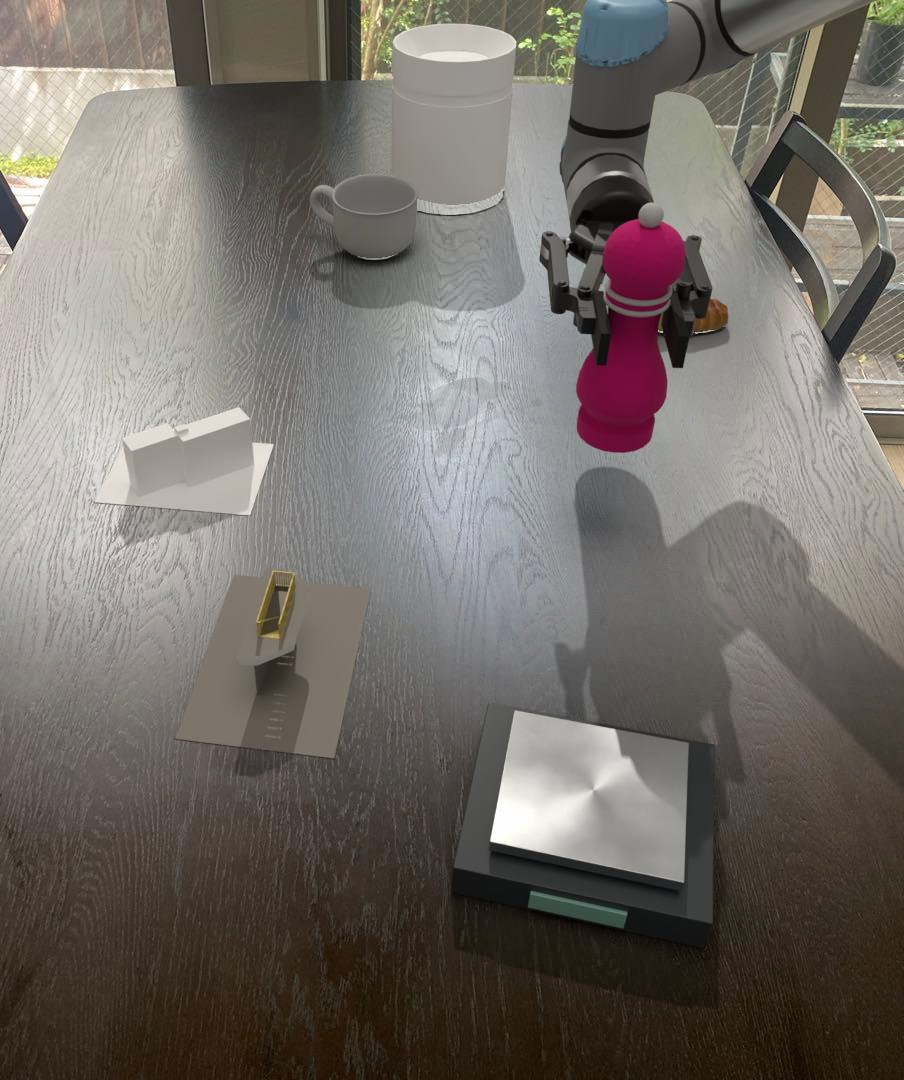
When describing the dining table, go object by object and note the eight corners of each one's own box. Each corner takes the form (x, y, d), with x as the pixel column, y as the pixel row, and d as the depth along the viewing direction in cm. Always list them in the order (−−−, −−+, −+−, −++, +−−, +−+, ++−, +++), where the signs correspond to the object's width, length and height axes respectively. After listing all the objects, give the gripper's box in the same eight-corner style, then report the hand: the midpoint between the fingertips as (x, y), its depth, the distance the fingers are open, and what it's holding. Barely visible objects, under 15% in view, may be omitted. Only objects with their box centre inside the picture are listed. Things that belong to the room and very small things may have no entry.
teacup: (431, 243, 140) (433, 184, 135) (390, 278, 133) (390, 216, 128) (340, 220, 146) (338, 162, 141) (295, 252, 139) (292, 192, 134)
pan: (686, 751, 75) (689, 742, 74) (681, 891, 67) (684, 882, 66) (513, 719, 77) (514, 710, 76) (488, 850, 69) (489, 841, 68)
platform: (371, 588, 92) (371, 530, 88) (334, 758, 78) (332, 699, 74) (234, 574, 93) (227, 516, 89) (175, 738, 80) (163, 679, 76)
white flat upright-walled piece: (274, 442, 108) (271, 394, 104) (251, 515, 99) (246, 466, 95) (128, 432, 109) (119, 384, 105) (93, 503, 101) (82, 454, 97)
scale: (706, 770, 77) (715, 744, 76) (703, 952, 67) (713, 927, 65) (485, 728, 80) (488, 701, 79) (449, 896, 70) (452, 870, 68)
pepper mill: (659, 461, 87) (708, 228, 74) (569, 453, 88) (602, 222, 75) (656, 411, 93) (701, 185, 80) (571, 404, 94) (601, 180, 81)
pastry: (718, 309, 127) (725, 279, 125) (732, 339, 122) (740, 309, 120) (638, 309, 127) (643, 280, 125) (649, 339, 122) (655, 309, 120)
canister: (490, 222, 145) (502, 67, 132) (376, 207, 149) (376, 55, 136) (515, 176, 156) (528, 29, 143) (409, 163, 160) (412, 19, 147)
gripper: (705, 256, 99) (755, 398, 81) (507, 251, 100) (515, 390, 82) (722, 176, 94) (779, 309, 76) (514, 172, 95) (523, 301, 77)
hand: (642, 350), depth 79 cm, fingers closed on pepper mill, 5 cm apart
